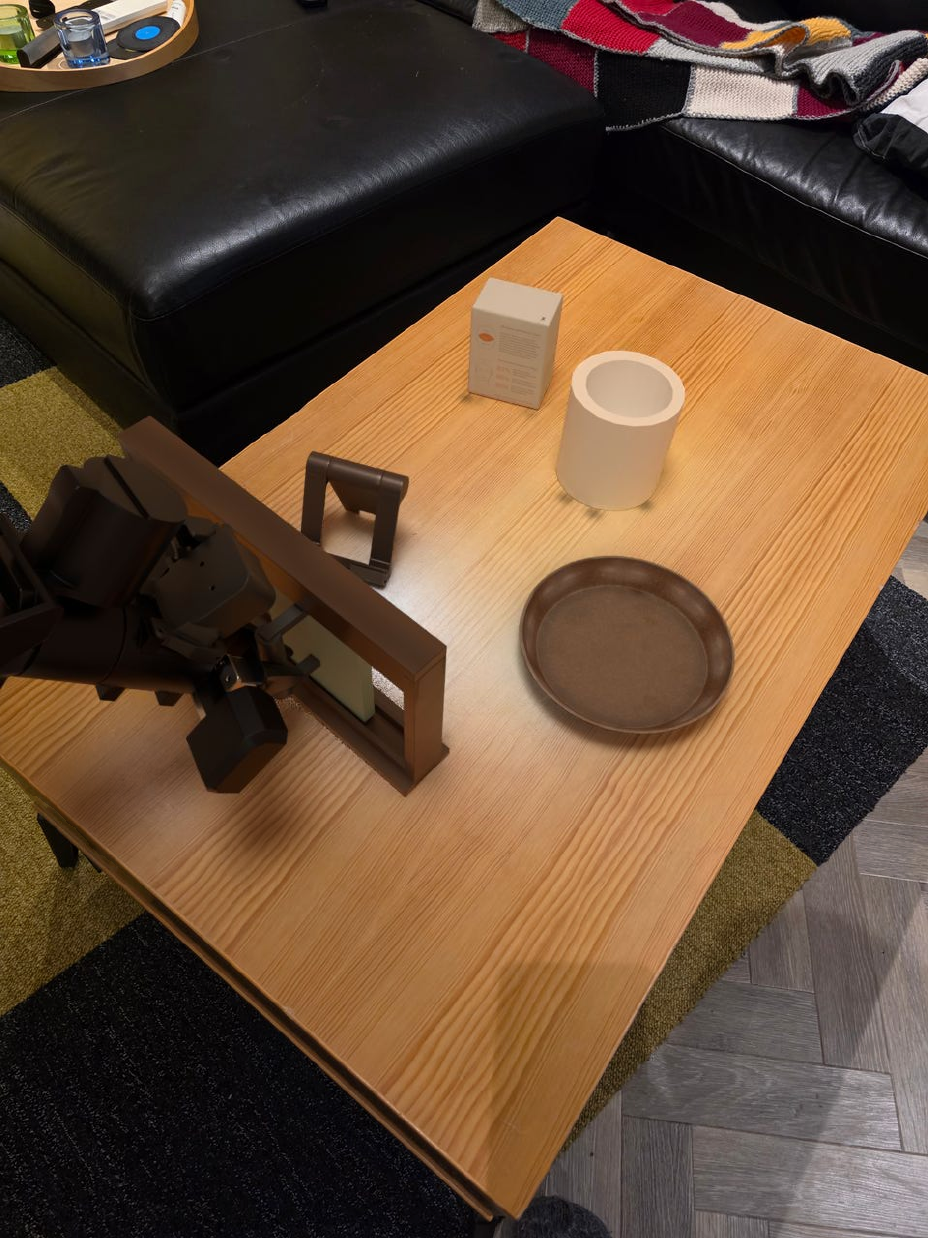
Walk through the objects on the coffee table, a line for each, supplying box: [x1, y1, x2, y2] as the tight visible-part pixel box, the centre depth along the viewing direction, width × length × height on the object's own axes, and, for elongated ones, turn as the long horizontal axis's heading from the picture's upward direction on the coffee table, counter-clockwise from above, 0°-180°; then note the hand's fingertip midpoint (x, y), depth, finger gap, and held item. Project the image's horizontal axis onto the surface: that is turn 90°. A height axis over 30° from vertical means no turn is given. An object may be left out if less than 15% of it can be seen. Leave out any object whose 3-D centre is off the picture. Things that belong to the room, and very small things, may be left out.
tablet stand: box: [300, 450, 410, 587], centre depth 77 cm, size 9×8×8 cm
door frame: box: [116, 415, 451, 797], centre depth 66 cm, size 5×30×16 cm, turn 48°
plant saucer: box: [518, 555, 736, 735], centre depth 73 cm, size 18×18×3 cm
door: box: [254, 584, 375, 723], centre depth 64 cm, size 6×10×12 cm, turn 48°
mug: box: [555, 350, 686, 512], centre depth 83 cm, size 14×10×11 cm
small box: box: [467, 276, 564, 410], centre depth 89 cm, size 8×6×10 cm
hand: (295, 666), depth 64 cm, fingers closed on door, 2 cm apart
